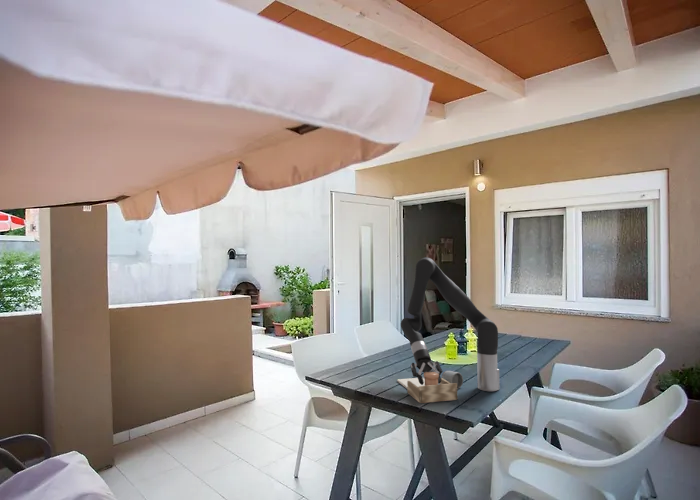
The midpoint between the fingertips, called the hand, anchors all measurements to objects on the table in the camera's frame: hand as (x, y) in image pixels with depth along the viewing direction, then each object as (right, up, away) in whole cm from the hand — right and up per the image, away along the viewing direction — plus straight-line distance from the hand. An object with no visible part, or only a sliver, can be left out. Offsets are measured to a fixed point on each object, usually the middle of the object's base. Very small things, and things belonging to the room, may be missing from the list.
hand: (431, 383), depth 180 cm
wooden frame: (0, -6, -1) cm, 6 cm away
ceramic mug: (+12, -6, +13) cm, 19 cm away
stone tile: (-4, -6, +17) cm, 18 cm away
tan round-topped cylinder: (0, -6, 0) cm, 6 cm away
